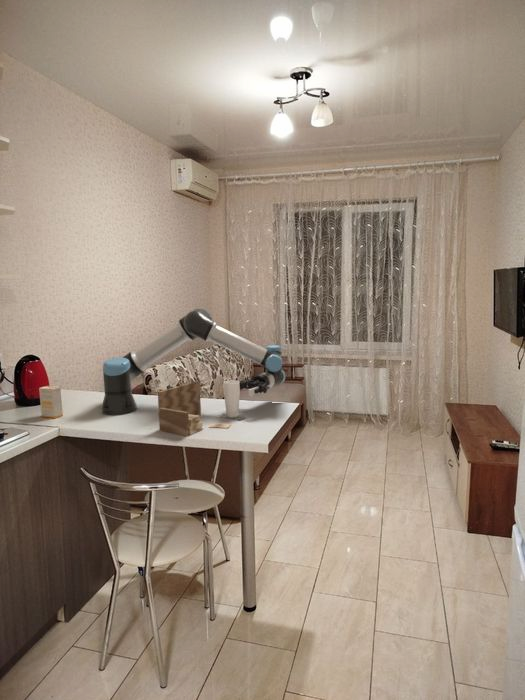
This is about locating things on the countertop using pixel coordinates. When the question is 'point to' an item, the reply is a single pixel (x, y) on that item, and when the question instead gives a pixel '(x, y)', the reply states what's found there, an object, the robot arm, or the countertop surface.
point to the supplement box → (51, 401)
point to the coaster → (240, 417)
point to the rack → (178, 407)
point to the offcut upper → (193, 419)
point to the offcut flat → (220, 426)
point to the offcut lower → (195, 428)
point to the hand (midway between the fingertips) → (236, 391)
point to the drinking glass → (232, 398)
